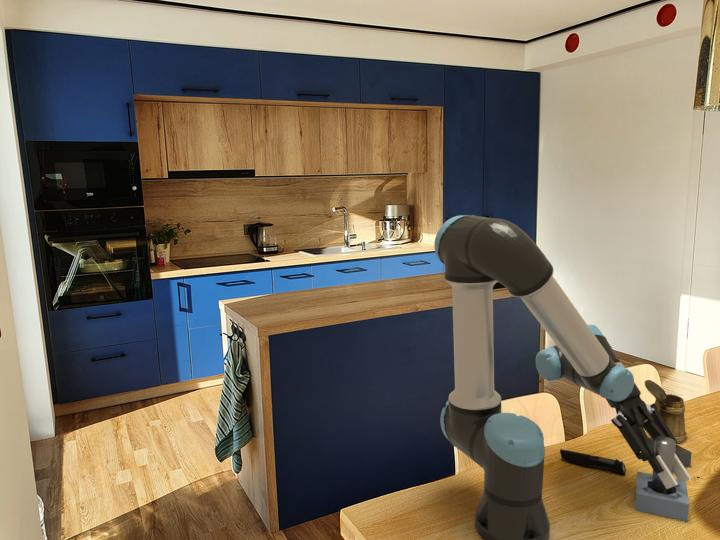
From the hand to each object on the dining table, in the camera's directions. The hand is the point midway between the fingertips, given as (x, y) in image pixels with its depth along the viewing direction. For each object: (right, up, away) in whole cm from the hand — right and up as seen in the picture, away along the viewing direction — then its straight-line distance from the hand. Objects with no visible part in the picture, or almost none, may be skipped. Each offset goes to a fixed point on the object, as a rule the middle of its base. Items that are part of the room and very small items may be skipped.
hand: (679, 483), depth 123 cm
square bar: (+10, -3, +24) cm, 26 cm away
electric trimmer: (-10, -4, +21) cm, 23 cm away
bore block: (-2, -6, +4) cm, 8 cm away
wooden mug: (+15, -1, +35) cm, 38 cm away
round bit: (-2, -3, +4) cm, 5 cm away
